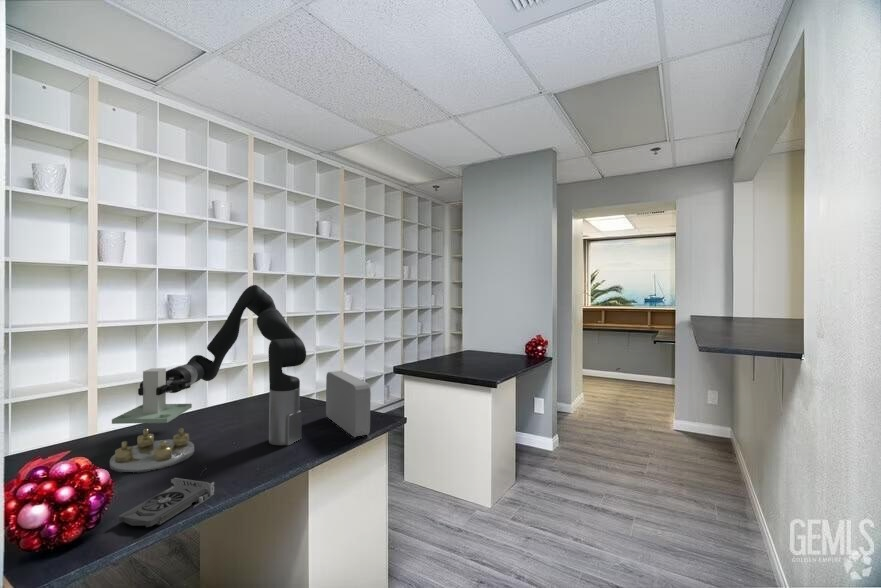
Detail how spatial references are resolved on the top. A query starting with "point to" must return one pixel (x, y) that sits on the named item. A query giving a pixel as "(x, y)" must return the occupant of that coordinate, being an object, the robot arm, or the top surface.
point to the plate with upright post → (152, 402)
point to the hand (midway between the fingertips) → (149, 391)
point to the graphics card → (168, 503)
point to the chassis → (152, 453)
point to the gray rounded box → (348, 402)
